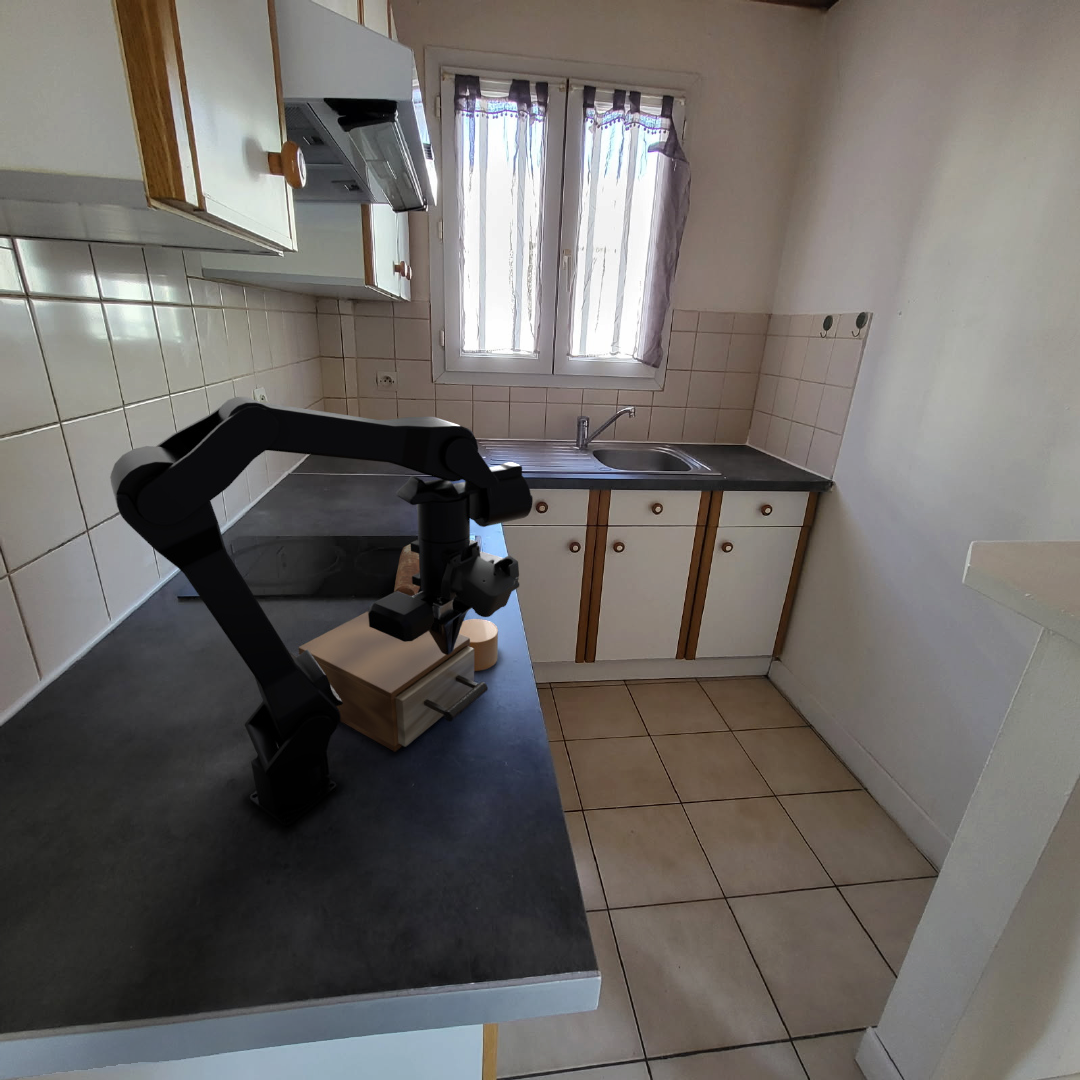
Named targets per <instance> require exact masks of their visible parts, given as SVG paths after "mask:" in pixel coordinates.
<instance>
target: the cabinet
mask: <svg viewBox="0 0 1080 1080" xmlns="http://www.w3.org/2000/svg"><path fill="white" fill-rule="evenodd" d="M467 646H469V647H470V638H468V637H466V636H463V635H461V634H459V635H458V637H457V640H456V643H455V646H454V649H453V652H452V653H450V654H449V655H446V654H443V653H442V652H441V650H440V649H439V647H438V645H437V644H436V642H435V640H434V639H433V637H432V635H431V634H430V632H429V631H427V632H426V633H424V634H423V635H421V636H420V637H418V638H416V639H415V640H413V641H407V642H404V641H401V640H399V639H397V638H395V637H392V636H390V635H388V634H385V633H383V632H381V631H378V630H376V629H374V628H371V627H369V617H368V610H367V611H366V612H364V613H362V614H360V615H358V616H356V617H354V618H352V619H350V620H348V621H346V622H344V623H342V624H341V625H338V626H336V627H335V628H333V629H331V630H329V631H327V632H325V633H323V634H321V635H319V636H317V637H315V638H313V639H311V640H309V641H308V642H306V643H304V644H302V645H300V646H298V648H297V649H298V656H299V655H300V654H302V653H303V652H304V651H305V650H307V649H308V650H309V652H310V653H311V654H312V656H313V657H314V659H315V660H316V661H317V663H318V664H319V666H320V667H321V669H322V670H323V671H324V673H325V674H326V676H327V678H328V680H329V683H330V684H331V686H332V687H333V689H334V690H335V692H336V693H337V695H338V696H339V697H340V699H341V700H342V702H343V704H342V705H339V706H337V708H338V709H339V712H340V715H341V721H340V723H343V724H344V725H346V726H348V727H350V728H352V729H354V730H355V731H357V732H359V733H361V734H362V735H364V736H366V737H368V738H370V740H371V739H372V740H373V741H375V742H376V743H378V744H380V745H382V746H383V747H385V748H387V749H389V750H390V751H393V752H394V753H395V752H397V751H398V750H400V749H401V748H402V747H404V746H403V745H401V744H399V743H398V728H397V713H396V695H397V694H399V693H400V692H402V691H403V690H404V689H406V688H407V687H409V686H410V685H411V684H413V683H414V682H416V681H417V680H418V679H420V678H421V677H423V676H424V675H425V674H427V673H428V672H430V671H431V670H433V669H434V668H435V667H437V666H438V665H440V664H441V663H442V662H444V661H445V660H447V659H448V658H449V657H451V656H452V655H454V654H455V653H456V652H457V653H458V652H460V651H461V650H462V649H464V648H465V647H467Z"/></svg>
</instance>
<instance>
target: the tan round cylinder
mask: <svg viewBox="0 0 1080 1080" xmlns="http://www.w3.org/2000/svg"><path fill="white" fill-rule="evenodd" d="M459 634H461V635H463V636H466V637H468V638H470V647H471V648H474V672H479V671H485V670H487V669H490V668H492V667H493V666H494V665H495V664H496V663H497V661H498V651H499V649H498V646H499V628H498V626H497V625H496V624H495V623H494V622H493V621H489V620H486V619H481V618H470V619H464V621H463V623H462V626H461V629H460V632H459Z"/></svg>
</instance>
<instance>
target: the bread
mask: <svg viewBox="0 0 1080 1080" xmlns="http://www.w3.org/2000/svg"><path fill="white" fill-rule="evenodd" d="M419 572H420V569H419V554H418V553H415V552H412V551H411V545H410V543H409V544H407V545H405V546H403V547H402V549H401V552H400V555H399V560H398V566H397V571H396V575H395V582H394V583H395V584H394V590H393V593H394V592H396V591H398V592H401V593H404V594H407V595H409V596H413V595H415V594H417V593H419V592H420V590H421V587H419V586H417V585H414V584H412V576H413V575H415V574H417V573H419Z"/></svg>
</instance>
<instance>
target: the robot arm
mask: <svg viewBox="0 0 1080 1080" xmlns="http://www.w3.org/2000/svg"><path fill="white" fill-rule="evenodd" d="M266 451H270V452H271V451H272V452H279V453H280V452H281V453H290V454H300V455H310V456H319V457H320V456H321V457H329V458H341V459H349V460H359V461H360V460H361V461H370V462H379V463H389V464H392V465H397V466H399V467H402V468H405V469H408V470H411V471H414V472H417V473H419V474H423V475H426V476H430V477H433V478H437V479H433V480H426V481H424V480H423V479H421V478H419V477H418V476H416V475H411V476H410V477H409V479H408V480H407V482H405V484H403V485H402V486H401V487H400V488H399V489H398V490H397V491H396V496H397V497H398V498H400V499H401V500H403V501H404V502H406V503H408V504H410V505H412V506H416V517H417V518H416V520H417V521H416V522H417V539H416V540H414V541H411V542H410V543H409V544H410V545H411V551H412V552H415V553H418V554H419V569H420V572H419V573H417V574H415V575H413V576H412V584H414V585H417V586H419V587H420V590H421V591H418V593H417V594H415V595H413V596H409V595H407V594H404V593H401V592H398V591H396V592H394V591H393V592H392V593H390V594H388V595H386V596H384V597H383V598H380V599H378V600H376V601H375V602H373V603H372V604H371V605H370V606H369V607H367V608H368V609H367V611H368V617H369V627H371V628H374V629H376V630H378V631H381V632H383V633H385V634H388V635H390V636H392V637H395V638H397V639H399V640H401V641H404V642H407V641H413V640H415V639H416V638H418V637H420V636H421V635H423V634H424V633H426V632H427V631H429V632H430V634H431V635H432V637H433V639H434V640H435V642H436V644H437V645H438V647H439V649H440V650H441V652H442V653H443V654H446V655H449V654H450V653H452V652H453V649H454V646H455V643H456V640H457V637H458V635H459V632H460V629H461V626H462V623H463V621H465V618H466V616H467V614H468V612H469V611H470V610H471V609H472V610H473V611H474V613H475V614H477V615H478V616H479V617H482V618H489V617H491V616H492V615H494V614H495V613H496V612H497V611H499V610H500V609H501V608H505V607H506V606H507V604H508V602H509V600H510V597H511V594H512V593H513V592H515V590H517V589H519V588H520V582H519V579H520V578H519V577H520V570H519V569H520V568H519V561H518V560H517V559H516V558H514V557H513V556H511V555H509V554H508V555H507V556H505V557H501V556H498V555H496V554H495V555H494V554H492V553H488V552H484V551H481V547H480V545H479V542H478V541H477V540H474V539H471V520H472V521H473V522H474V523H475V524H476V525H478V526H479V527H481V528H485V527H489V526H494V525H499V524H504V523H507V522H508V523H509V522H513V521H516V520H521V519H525V518H526V517H528V516H529V515H530V513H531V511H532V508H533V502H534V501H533V500H534V499H533V495H532V493H531V489H530V486H529V484H528V481H527V480H526V478H525V477H524V476H523V466H522V465H520V464H518V463H515V462H513V461H512V462H511V461H509V462H503V463H502V464H500V465H494V466H489V465H488V463H487V462H486V461H485V459H484V458H483V456H482V455H481V454H480V452H479V445H478V440H477V439H476V437H475V435H474V432H473V431H472V430H471V429H470V428H468V427H465V426H462V425H459V424H457V423H454V422H450V421H447V420H444V419H441V418H438V417H436V416H408V417H407V416H406V417H401V418H400V417H399V418H392V419H374V418H368V417H361V416H355V415H348V414H343V413H335V412H328V411H323V410H314V409H307V408H302V407H295V406H288V405H283V404H276V403H268V402H262V401H258V400H256V399H253V398H251V397H248V396H234V397H233V398H230V399H228V400H226V401H225V402H224V403H223V404H222V405H220V406H219V407H218V408H217V409H215V410H214V411H212V412H211V413H209V414H207V415H206V416H204V417H202V418H200V419H198V420H197V421H195V422H193V423H190V424H189V425H187V426H185V427H182V429H179V430H177V431H176V432H174V433H172V434H171V435H170V436H168V437H167V438H165V439H164V440H163V441H161V442H159V443H158V444H156V445H155V446H154V445H153V446H149V445H145V446H141V447H136V448H132V449H131V450H129V451H127V452H125V453H124V454H122V455H121V456H120V457H119V459H117V461H116V462H114V464H113V467H112V470H111V473H110V477H109V478H110V486H111V489H112V492H113V496H114V500H115V504H116V507H117V509H118V512H119V515H120V517H122V519H123V520H124V521H125V522H126V523H127V525H128V526H130V528H132V529H133V530H134V531H135V532H136V533H137V534H138V535H139V536H140V537H141V538H142V539H143V540H144V541H145V542H146V543H147V544H148V545H150V547H152V548H153V550H155V552H157V553H158V554H159V555H161V556H162V557H163V558H165V560H167V561H169V562H170V563H171V564H172V565H174V566H175V567H176V568H177V569H179V571H180V572H182V573H183V575H184V576H185V577H186V579H187V580H188V582H189V583H190V585H191V586H192V588H193V589H194V590H195V592H196V594H197V595H198V596H199V597H200V599H201V601H202V602H203V604H204V605H205V606H206V608H207V609H208V611H209V612H210V614H211V615H212V617H213V618H214V619H215V622H216V623H217V624H218V625H219V627H220V628H221V630H222V631H223V632H224V634H225V635H226V637H227V639H228V640H229V641H230V642H231V644H232V645H233V647H234V648H235V650H236V651H237V653H238V655H239V656H240V657H241V659H242V660H243V662H244V663H245V665H246V666H247V667H248V669H249V670H250V671H251V673H252V675H253V676H254V679H255V682H256V685H257V688H258V691H259V694H260V696H261V698H262V702H261V703H260V704H259V705H258V707H257V708H256V709H255V710H254V712H253V713H252V714H251V715H250V717H249V718H248V719H247V720H246V722H245V723H244V727H245V729H246V731H247V734H248V736H249V738H250V740H251V743H252V745H253V747H254V750H255V753H256V754H257V755H256V757H254V758H253V759H251V760H250V764H251V765H250V766H251V770H252V775H253V780H254V786H255V791H254V792H252V793H251V794H250V796H249V801H250V803H251V804H253V805H254V806H256V807H257V808H258V809H259V810H261V811H262V812H264V814H266V815H267V816H269V817H270V818H271V819H272V820H273V821H276V822H277V823H278V824H280V825H281V826H282V827H284V828H289V827H291V826H292V825H294V824H295V823H296V822H297V821H299V820H300V819H301V818H302V817H303V816H305V815H306V814H308V813H309V812H310V811H311V810H312V809H313V808H315V807H316V806H317V805H318V804H320V803H321V802H322V801H323V800H325V799H326V798H327V797H329V796H330V795H331V794H332V793H334V792H335V791H336V790H337V789H338V787H337V782H335V781H334V780H332V779H331V778H329V777H328V776H329V775H330V766H329V757H328V751H327V750H328V747H329V743H330V740H331V737H332V735H333V734H334V733H335V731H336V730H337V728H338V726H339V724H340V723H341V715H340V712H339V709H338V708H337V706H339V705H342V704H343V702H342V700H341V699H340V697H339V696H338V695H337V693H336V692H335V690H334V689H333V687H332V686H331V684H330V683H329V680H328V678H327V676H326V674H325V673H324V671H323V670H322V669H321V667H320V666H319V664H318V663H317V661H316V660H315V659H314V657H313V656H312V654H311V653H310V652H309V650H308V649H307V650H305V651H304V652H303V653H302V654H300V655H299V654H298V656H296V655H295V654H294V653H292V652H291V651H290V650H289V649H288V648H287V647H286V645H285V643H284V642H283V640H282V639H281V637H280V635H279V634H278V632H277V631H276V629H275V627H274V626H273V624H272V623H271V621H270V619H269V618H268V616H267V614H266V613H265V611H264V609H263V608H262V606H261V605H260V603H259V601H258V600H257V598H256V597H255V595H254V593H253V592H252V590H251V589H250V587H249V585H248V583H247V582H246V581H245V578H244V577H243V576H242V574H241V572H240V570H239V569H238V567H237V566H236V564H235V563H234V561H233V560H232V558H231V556H230V554H229V553H228V550H227V548H226V545H225V542H224V538H223V535H222V532H221V527H220V524H219V521H218V518H217V516H216V513H215V510H214V507H213V505H212V500H213V499H214V498H216V497H217V496H219V495H220V494H221V493H223V492H225V490H226V489H228V488H229V487H230V486H231V485H232V484H233V483H234V481H235V480H236V479H237V478H238V477H239V476H240V475H241V474H242V473H243V471H244V470H246V468H247V467H249V465H250V463H252V462H253V461H254V460H255V459H256V458H257V457H259V456H260V455H262V454H263V453H264V452H266ZM460 481H463V482H460ZM452 482H456V483H452Z"/></svg>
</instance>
